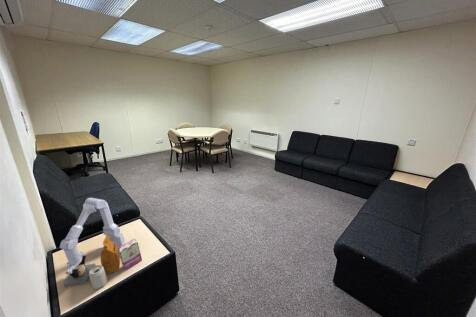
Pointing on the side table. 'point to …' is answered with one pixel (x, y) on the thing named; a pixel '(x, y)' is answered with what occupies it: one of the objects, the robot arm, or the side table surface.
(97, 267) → the can
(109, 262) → the coffee package
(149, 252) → the side table surface
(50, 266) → the side table surface
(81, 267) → the jaw block
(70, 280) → the housing
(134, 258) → the candy bar box
